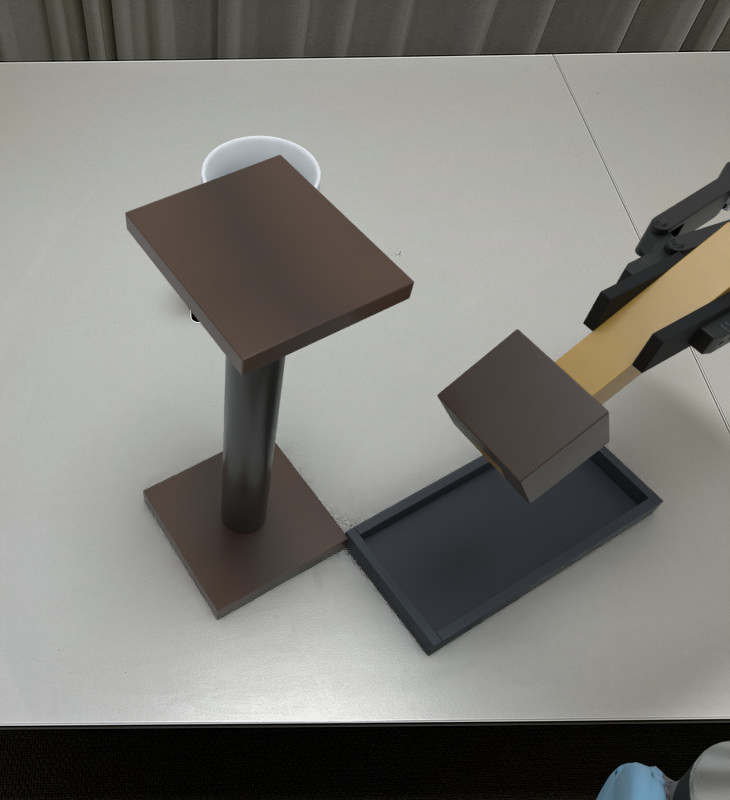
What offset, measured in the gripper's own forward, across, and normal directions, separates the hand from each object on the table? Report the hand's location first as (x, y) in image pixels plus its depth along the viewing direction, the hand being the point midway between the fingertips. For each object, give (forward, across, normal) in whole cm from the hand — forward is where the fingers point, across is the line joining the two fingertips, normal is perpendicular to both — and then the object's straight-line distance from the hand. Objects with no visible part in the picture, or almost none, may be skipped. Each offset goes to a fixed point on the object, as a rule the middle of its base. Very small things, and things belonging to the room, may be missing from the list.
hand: (621, 332), depth 45 cm
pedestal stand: (+18, +11, -24) cm, 32 cm away
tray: (0, 0, -24) cm, 24 cm away
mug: (+3, +34, -24) cm, 42 cm away
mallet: (-1, 0, -4) cm, 4 cm away
